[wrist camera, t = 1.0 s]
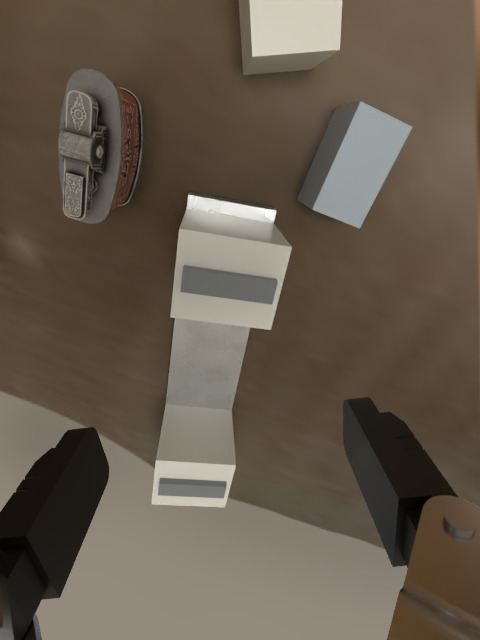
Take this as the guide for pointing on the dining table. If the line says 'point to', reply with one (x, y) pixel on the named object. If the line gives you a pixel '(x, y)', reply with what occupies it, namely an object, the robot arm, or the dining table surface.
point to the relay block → (288, 34)
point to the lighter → (98, 146)
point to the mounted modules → (225, 308)
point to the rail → (210, 333)
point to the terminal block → (352, 162)
